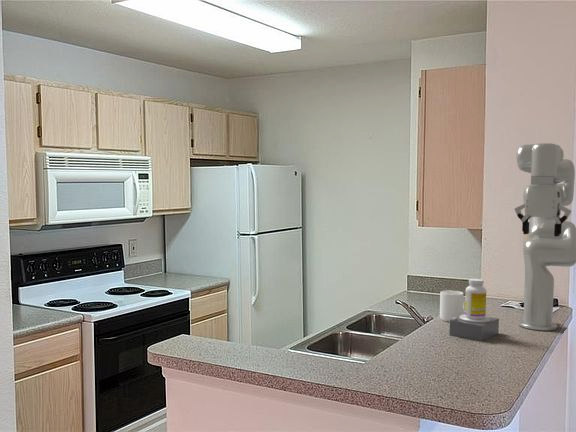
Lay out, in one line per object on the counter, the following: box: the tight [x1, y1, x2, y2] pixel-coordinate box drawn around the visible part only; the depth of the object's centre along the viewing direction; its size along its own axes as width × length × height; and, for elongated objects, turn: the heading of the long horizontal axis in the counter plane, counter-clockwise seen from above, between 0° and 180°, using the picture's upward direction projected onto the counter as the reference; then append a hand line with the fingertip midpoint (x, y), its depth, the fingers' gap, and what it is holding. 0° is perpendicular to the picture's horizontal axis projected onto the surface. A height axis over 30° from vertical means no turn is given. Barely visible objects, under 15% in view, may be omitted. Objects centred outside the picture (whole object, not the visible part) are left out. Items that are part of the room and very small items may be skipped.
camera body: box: [449, 313, 500, 342], centre depth 196 cm, size 14×11×6 cm
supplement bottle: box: [464, 278, 487, 319], centre depth 195 cm, size 7×7×13 cm
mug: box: [439, 290, 465, 323], centre depth 217 cm, size 12×8×10 cm
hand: (541, 235), depth 188 cm, fingers open, 9 cm apart
